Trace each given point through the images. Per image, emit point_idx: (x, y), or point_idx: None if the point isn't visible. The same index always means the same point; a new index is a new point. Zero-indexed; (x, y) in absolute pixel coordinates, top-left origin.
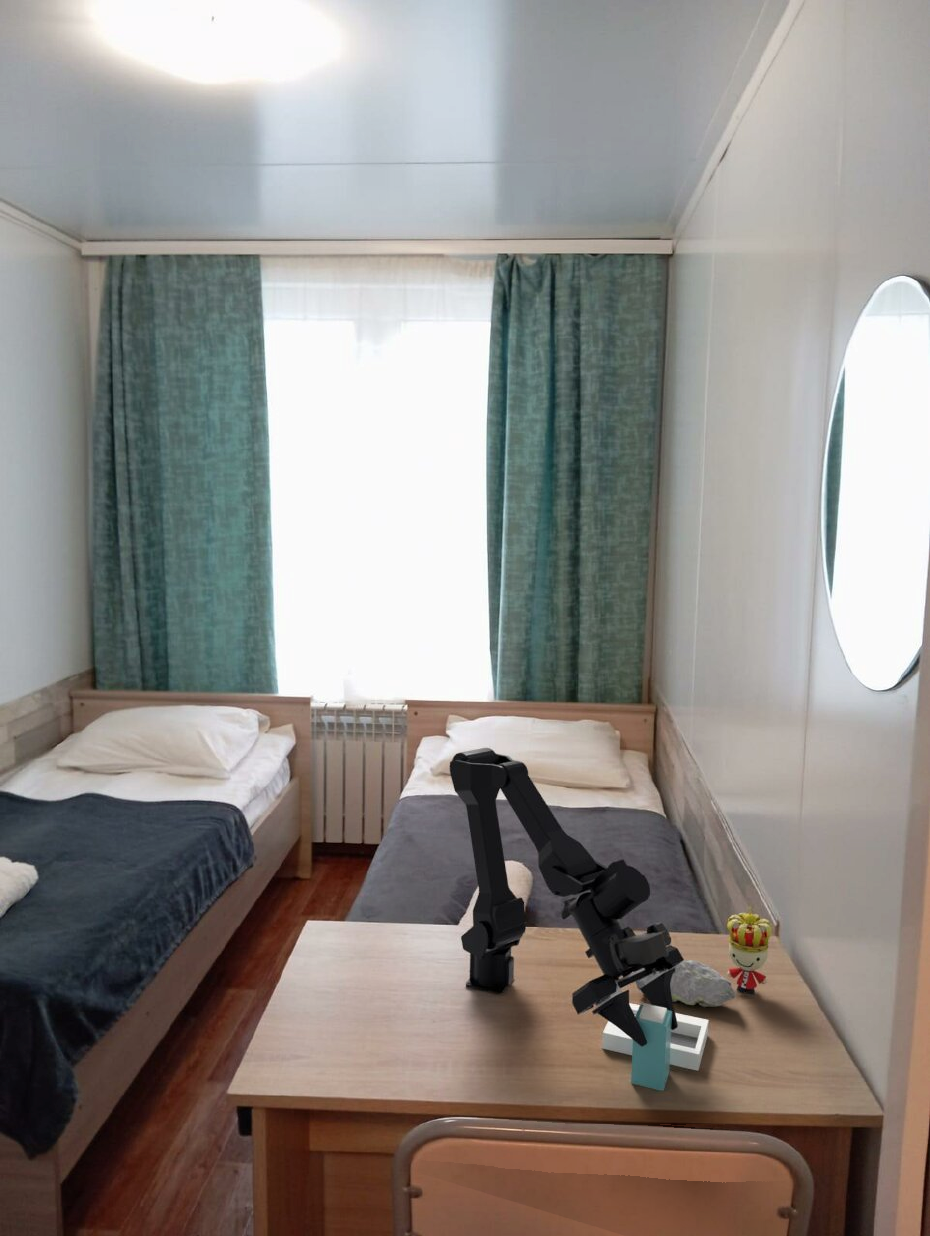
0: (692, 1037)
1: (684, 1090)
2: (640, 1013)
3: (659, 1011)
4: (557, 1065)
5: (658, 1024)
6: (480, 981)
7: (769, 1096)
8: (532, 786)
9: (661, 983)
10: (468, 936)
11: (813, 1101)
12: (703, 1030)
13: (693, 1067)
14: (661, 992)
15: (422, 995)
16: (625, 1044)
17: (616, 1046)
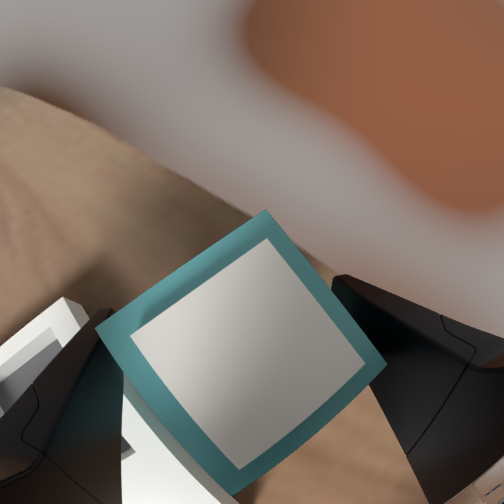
0: (3, 406)
1: (177, 263)
2: (355, 369)
3: (212, 332)
4: (391, 482)
5: (293, 251)
6: None
7: (46, 156)
8: None
9: (25, 497)
10: None
11: (14, 120)
12: None
13: (86, 315)
14: (62, 463)
15: None
16: (209, 483)
17: (225, 496)
